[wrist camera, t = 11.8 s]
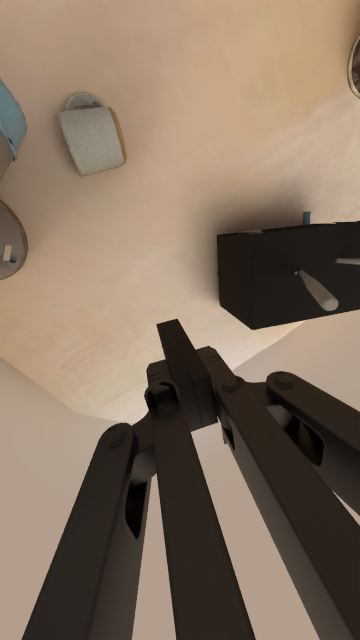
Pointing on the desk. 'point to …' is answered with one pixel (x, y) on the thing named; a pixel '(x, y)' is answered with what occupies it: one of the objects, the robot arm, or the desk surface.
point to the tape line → (306, 218)
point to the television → (289, 273)
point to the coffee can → (355, 68)
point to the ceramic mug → (92, 135)
